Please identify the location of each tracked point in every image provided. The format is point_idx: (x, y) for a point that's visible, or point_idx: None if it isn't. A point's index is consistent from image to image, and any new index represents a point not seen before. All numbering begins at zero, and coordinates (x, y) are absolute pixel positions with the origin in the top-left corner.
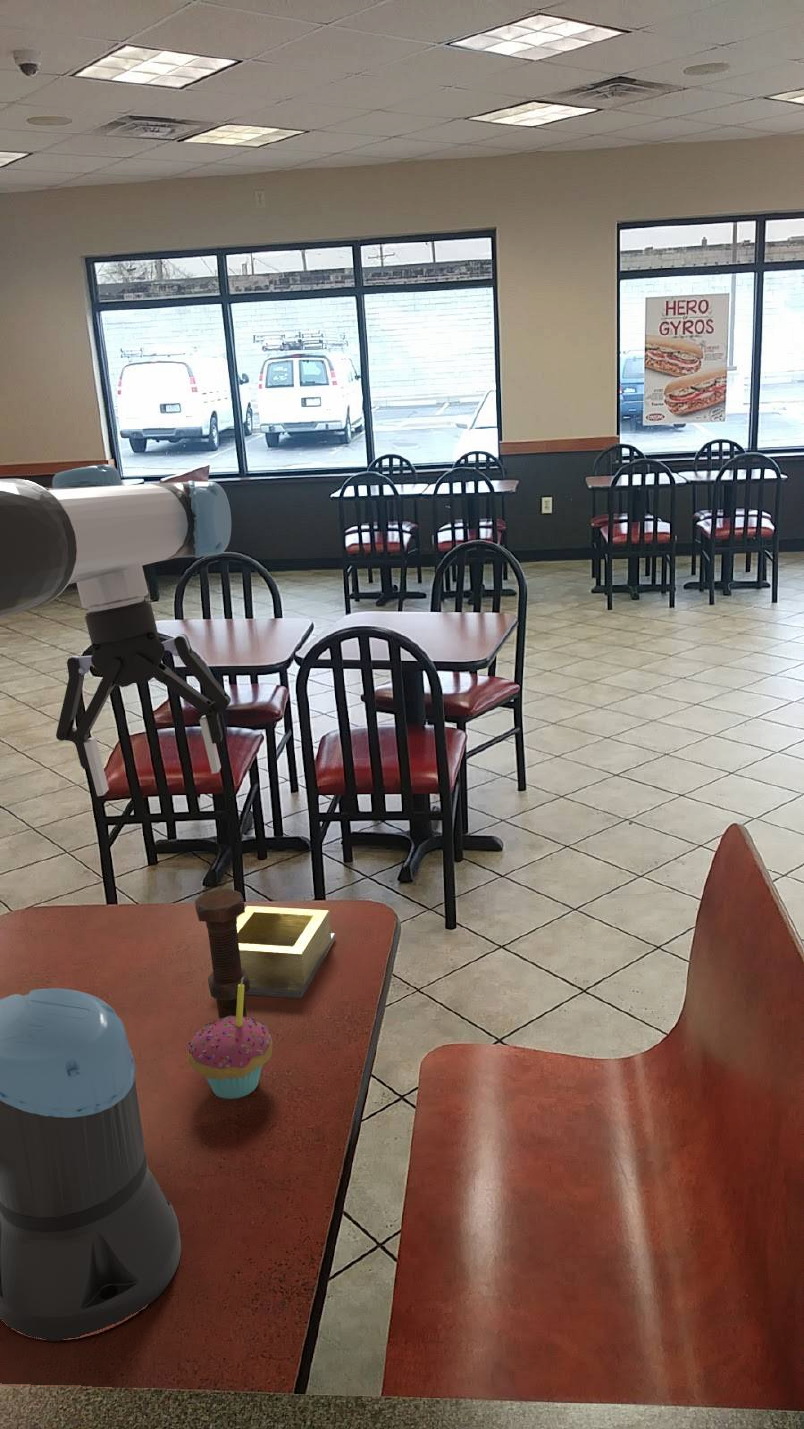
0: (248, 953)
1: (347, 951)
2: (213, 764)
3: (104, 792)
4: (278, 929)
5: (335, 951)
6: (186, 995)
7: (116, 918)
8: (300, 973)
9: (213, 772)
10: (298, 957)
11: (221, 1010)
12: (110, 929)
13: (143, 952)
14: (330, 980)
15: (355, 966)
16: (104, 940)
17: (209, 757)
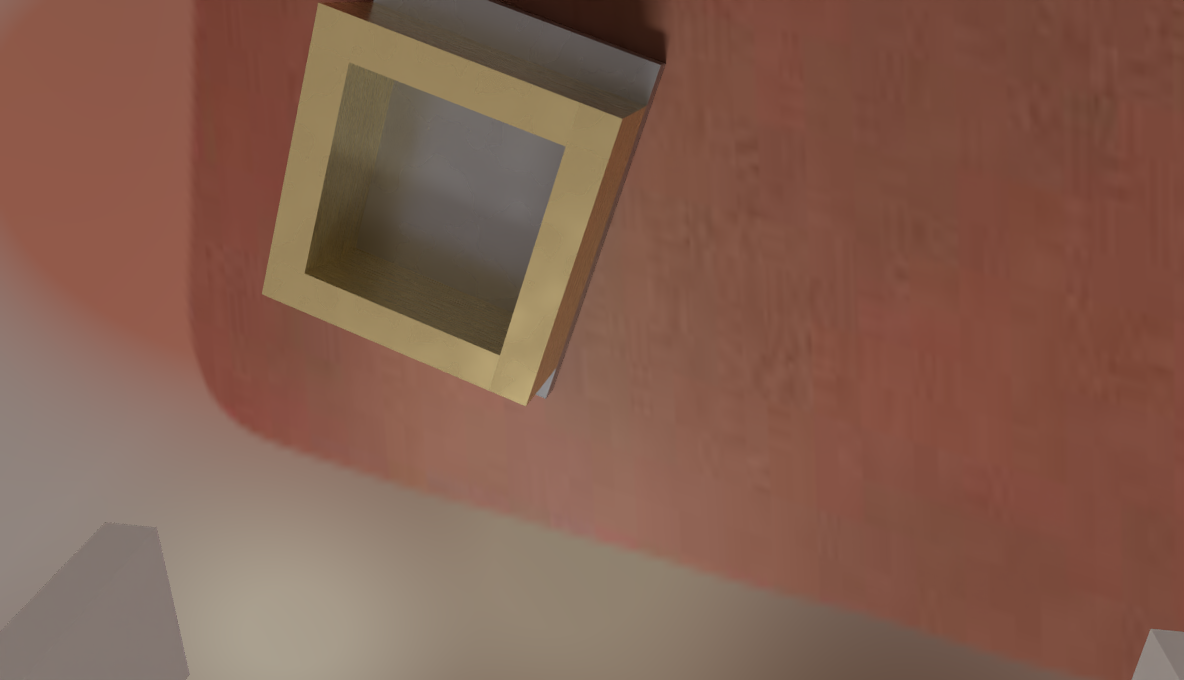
0: (503, 71)
1: None
2: (80, 576)
3: (1142, 676)
4: (447, 305)
5: None
6: (754, 60)
7: (1011, 636)
8: (363, 5)
9: (137, 533)
10: (336, 6)
11: None
12: (1032, 570)
13: (911, 384)
14: None
15: (256, 124)
16: (1053, 503)
17: (53, 628)
